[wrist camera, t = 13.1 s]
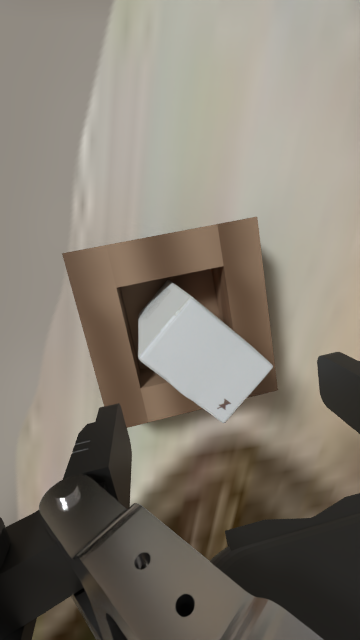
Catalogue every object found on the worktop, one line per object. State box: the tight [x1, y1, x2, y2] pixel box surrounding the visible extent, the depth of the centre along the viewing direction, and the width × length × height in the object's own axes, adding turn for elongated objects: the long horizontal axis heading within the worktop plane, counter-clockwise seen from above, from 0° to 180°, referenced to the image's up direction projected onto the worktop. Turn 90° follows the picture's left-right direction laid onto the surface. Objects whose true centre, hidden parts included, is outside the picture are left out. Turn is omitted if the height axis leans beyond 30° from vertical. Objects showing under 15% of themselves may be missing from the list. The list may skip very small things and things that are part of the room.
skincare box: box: [138, 280, 273, 423], centre depth 21 cm, size 6×4×12 cm
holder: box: [62, 217, 278, 428], centre depth 25 cm, size 14×14×5 cm
